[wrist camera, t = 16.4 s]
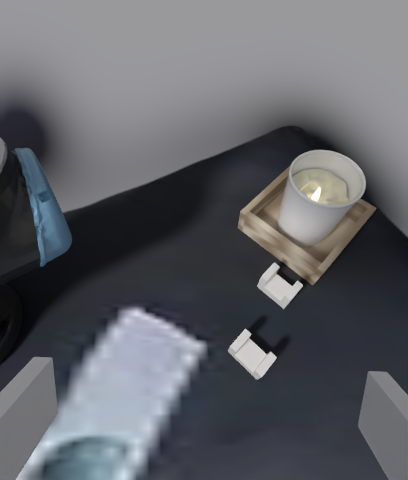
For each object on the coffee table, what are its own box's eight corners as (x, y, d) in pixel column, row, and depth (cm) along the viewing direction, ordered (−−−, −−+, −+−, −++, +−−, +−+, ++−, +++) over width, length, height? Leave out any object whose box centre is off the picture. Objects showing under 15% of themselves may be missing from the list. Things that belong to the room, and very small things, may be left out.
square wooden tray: (237, 227, 49) (240, 211, 45) (289, 178, 54) (296, 160, 50) (312, 285, 44) (323, 272, 39) (362, 224, 49) (376, 208, 45)
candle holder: (326, 202, 50) (357, 150, 40) (336, 252, 45) (374, 207, 35) (270, 200, 51) (286, 148, 40) (273, 250, 46) (293, 205, 35)
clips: (211, 335, 40) (212, 329, 37) (269, 273, 45) (274, 262, 41) (256, 379, 37) (261, 377, 34) (312, 308, 42) (322, 299, 38)
